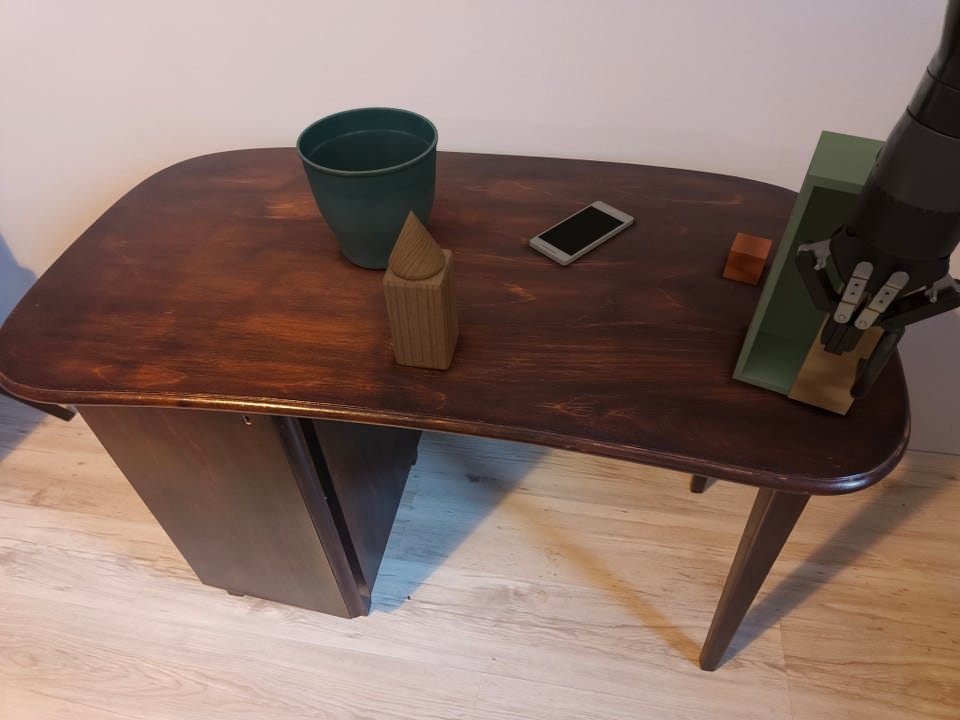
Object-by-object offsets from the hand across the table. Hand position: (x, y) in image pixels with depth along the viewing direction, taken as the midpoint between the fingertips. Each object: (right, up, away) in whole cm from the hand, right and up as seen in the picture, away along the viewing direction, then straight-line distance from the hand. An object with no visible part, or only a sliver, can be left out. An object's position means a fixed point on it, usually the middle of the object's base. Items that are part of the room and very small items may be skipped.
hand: (833, 347), depth 58 cm
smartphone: (-17, +17, +36) cm, 44 cm away
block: (+4, +11, +29) cm, 31 cm away
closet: (+4, -2, +16) cm, 17 cm away
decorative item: (-39, 0, +20) cm, 44 cm away
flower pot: (-46, +16, +36) cm, 60 cm away
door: (+3, -8, +9) cm, 12 cm away
